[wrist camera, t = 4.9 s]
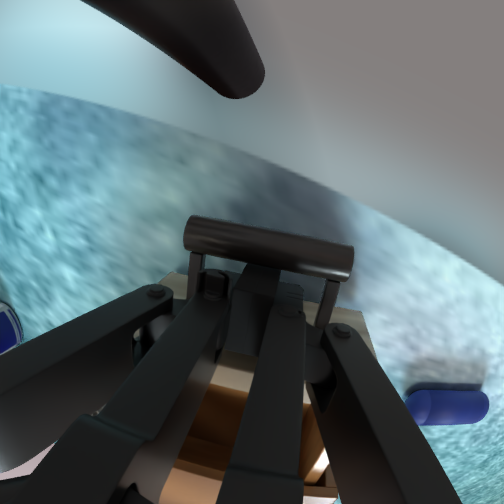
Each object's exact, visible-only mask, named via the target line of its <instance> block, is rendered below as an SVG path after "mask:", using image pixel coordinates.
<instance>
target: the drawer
mask: <svg viewBox="0 0 504 504" xmlns="http://www.w3.org/2000/svg"><path fill="white" fill-rule="evenodd" d="M183 244H184V248H185V249H186V250H188V251H192V252H191V253H190V260H189V271H188V276H187V275H183V274H179V273H175V272H170V273H169V274H168V275H167V276H166V277H165V278H163V279H162V280H161V281H160V282H159V283H157V284H162V285H164V286H167V287H169V288H171V289H172V290H173V292H174V295H173V298H175V299H191V297H192V296H193V295H194V294H195V293H196V284H197V274H198V272H199V271H200V270H204V267H205V258H206V254H207V255H211V256H216V257H221V258H226V259H230V260H235V261H240V262H245V263H250V264H255V265H260V266H264V267H269V268H274V269H279V270H284V271H289V272H294V273H299V274H304V275H309V276H314V277H319V278H324V279H326V280H325V284H324V288H323V291H322V295H321V299H320V303H314V302H309V301H304V300H303V312H304V313H305V315H306V321H307V322H308V323H309V324H311V325H312V326H314V327H316V328H319V329H322V330H324V327H325V326H326V324H329V323H336V322H337V323H344V324H347V325H350V326H351V327H352V328H354V329H355V330H356V331H357V332H358V333H359V334H360V336H361V337H362V339H363V340H364V342H365V343H366V345H367V346H368V348H369V349H370V351H371V352H372V354H373V355H374V357H375V358H376V360H377V357H376V354H375V351H374V348H373V345H372V342H371V338H370V335H369V332H368V329H367V326H366V323H365V321H364V318H363V315H362V312H361V311H356V310H351V309H345V308H340V307H335V306H334V305H335V301H336V298H337V294H338V291H339V287H340V282H347V280H348V279H349V276H350V274H351V271H352V267H353V261H354V247H353V246H352V245H348V244H343V243H339V242H334V241H329V240H324V239H319V238H314V237H310V236H305V235H300V234H295V233H290V232H285V231H280V230H275V229H269V228H264V227H259V226H254V225H249V224H243V223H238V222H233V221H227V220H222V219H217V218H211V217H206V216H200V215H191V216H190V217H189V219H188V221H187V223H186V226H185V230H184V236H183ZM138 336H139V329H138V330H137V331H136V332H135V334H134V338H136V337H138ZM224 348H225V343H224V345H223V350H222V356H221V359H220V361H219V363H218V366H217V368H216V370H215V373H214V375H213V377H212V379H211V382H210V384H209V386H208V389H207V391H206V393H205V395H204V398H203V400H202V402H201V405H200V407H199V409H198V411H197V414H196V416H195V418H194V420H193V423H192V425H191V427H190V429H189V432H188V434H187V436H186V438H185V441H184V443H183V445H182V447H181V450H180V452H179V454H178V456H177V458H178V459H181V460H184V461H188V462H191V463H194V464H198V465H201V466H205V467H208V468H212V469H216V470H220V471H224V472H225V471H226V468H227V465H228V464H229V461H230V457H231V454H232V451H233V447H234V444H235V440H236V437H237V433H238V430H239V426H240V423H241V419H242V416H243V412H244V409H245V405H246V401H247V398H248V394H249V390H250V387H251V383H252V379H253V375H254V372H255V368H256V364H257V360H258V357H255V356H250V355H246V354H242V353H237V352H233V351H229V350H225V349H224ZM328 464H329V460H328V457H327V454H326V450H325V447H324V444H323V441H322V438H321V434H320V431H319V428H318V425H317V422H316V418H315V415H314V412H313V409H312V406H311V402H310V399H309V396H308V393H307V390H306V381H305V380H304V396H303V415H302V430H301V444H300V457H299V469H298V475H299V477H300V478H303V481H304V485H305V486H314V485H315V484H316V482H317V481H318V479H319V478H320V476H321V475H322V473H323V472H324V470H325V469H326V467H327V466H328Z"/></svg>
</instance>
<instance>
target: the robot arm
mask: <svg viewBox="0 0 504 504" xmlns="http://www.w3.org/2000/svg"><path fill="white" fill-rule="evenodd" d="M280 273H281V270H279V269H274V268H269V267H264V266H260V265H255V264H250V263H247V265H246V267H245V268H244V270H243V272H242V274H239V273H235V272H230V271H221V270H216V269H204V270H200V271H199V272H198V274H197V284H196V293H195V294H194V295H193V296H192V297H191V299H175V298H173V295H174V292H173V290H172V289H171V288H169V287H167V286H164V285H162V284H150V285H146V286H143V287H140V288H138V289H136V290H134V291H132V292H130V293H128V294H126V295H123V296H121V297H119V298H117V299H115V300H113V301H111V302H109V303H107V304H104V305H102V306H100V307H98V308H96V309H94V310H92V311H90V312H88V313H86V314H83V315H81V316H79V317H77V318H75V319H73V320H71V321H69V322H67V323H65V324H63V325H61V326H59V327H56V328H54V329H52V330H50V331H48V332H46V333H44V334H42V335H40V336H38V337H36V338H34V339H32V340H30V341H28V342H26V343H24V344H22V345H20V346H18V347H16V348H14V349H12V350H9V351H7V352H5V353H3V354H1V355H0V473H3V472H6V471H9V470H11V469H14V468H16V467H18V466H20V465H22V464H24V463H25V462H27V461H29V460H30V459H32V458H33V457H35V456H36V455H38V454H39V453H40V452H42V451H43V450H45V449H46V448H47V447H49V446H50V445H51V444H53V443H54V442H56V441H57V440H58V439H59V440H58V441H57V442H56V443H55V445H54V446H53V447H52V448H51V450H50V451H49V452H48V453H47V455H46V456H45V457H44V458H43V459H42V461H41V462H40V463H39V464H38V466H37V467H36V468H35V470H34V471H33V472H32V473H31V474H30V475H25V476H21V477H15V478H10V479H5V480H0V504H159V499H160V495H161V492H162V490H163V487H164V485H165V483H166V481H167V478H168V476H169V474H170V472H171V470H172V467H173V465H174V463H175V461H176V459H177V456H178V454H179V452H180V450H181V447H182V445H183V443H184V441H185V438H186V436H187V434H188V432H189V429H190V427H191V425H192V423H193V420H194V418H195V416H196V414H197V411H198V409H199V407H200V405H201V402H202V400H203V398H204V395H205V393H206V391H207V389H208V386H209V384H210V382H211V379H212V377H213V375H214V373H215V370H216V368H217V366H218V363H219V361H220V359H221V356H222V350H223V345H224V343H225V348H224V349H225V350H229V351H233V352H237V353H242V354H246V355H250V356H255V357H258V360H257V364H256V368H255V372H254V375H253V379H252V383H251V387H250V390H249V394H248V398H247V401H246V405H245V409H244V412H243V416H242V419H241V423H240V426H239V430H238V433H237V437H236V440H235V444H234V447H233V451H232V454H231V457H230V461H229V464H228V465H227V468H226V471H225V474H224V477H223V481H222V484H221V487H220V490H219V494H218V497H217V500H216V503H215V504H303V496H304V481H303V478H300V477H299V475H298V469H299V457H300V444H301V430H302V415H303V396H304V380H305V381H306V390H307V393H308V396H309V399H310V402H311V406H312V409H313V412H314V415H315V418H316V422H317V425H318V428H319V431H320V434H321V438H322V441H323V444H324V447H325V450H326V454H327V457H328V460H329V463H330V467H331V470H332V473H333V477H334V480H335V483H336V486H337V490H338V493H339V496H340V500H341V503H342V504H462V502H461V500H460V498H459V497H458V495H457V493H456V491H455V489H454V487H453V486H452V484H451V482H450V480H449V478H448V477H447V475H446V473H445V471H444V470H443V468H442V466H441V464H440V463H439V461H438V459H437V457H436V456H435V454H434V452H433V450H432V449H431V447H430V445H429V444H428V442H427V440H426V439H425V437H424V435H423V434H422V432H421V430H420V429H419V427H418V425H417V424H416V422H415V420H414V419H413V417H412V415H411V414H410V412H409V410H408V409H407V407H406V406H405V404H404V402H403V401H402V399H401V398H400V396H399V394H398V393H397V391H396V390H395V388H394V386H393V385H392V383H391V382H390V380H389V378H388V377H387V375H386V374H385V372H384V371H383V369H382V368H381V366H380V364H379V363H378V361H377V360H376V358H375V357H374V355H373V354H372V352H371V351H370V349H369V348H368V346H367V345H366V343H365V342H364V340H363V339H362V337H361V336H360V334H359V333H358V332H357V331H356V330H355V329H354V328H352V327H351V326H350V325H347V324H344V323H337V322H336V323H329V324H326V326H325V327H324V330H322V329H319V328H316V327H314V326H312V325H311V324H309V323H308V322H307V321H306V315H305V313H304V312H303V297H304V296H303V295H304V290H303V289H302V288H301V287H300V285H296V284H291V283H286V282H281V281H279V278H280ZM138 329H139V336H138V337H136V338H134V334H135V332H136V331H137V330H138ZM105 404H106V405H105ZM104 405H105V406H104ZM103 406H104V408H103V409H102V410H101V411H100V413H99V414H98V415H96V416H91V415H92V414H93V413H95V412H96V411H97V410H99V409H100V408H101V407H103Z"/></svg>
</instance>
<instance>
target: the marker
mask: <svg viewBox="0 0 504 504" xmlns="http://www.w3.org/2000/svg"><path fill="white" fill-rule="evenodd" d="M405 406H406V407H407V409H408V410H409V412H410V414H411V415H412V417H413V419H414V420H415V422H416V424H417V425H418V426H426V425H459V424H473V423H477V422H479V421H480V420H482V419H483V418H484V417H485V415H486V414H487V412H488V409H489V399H488V397H487V395H486V394H485V393H483V392H481V391H449V390H418V391H415V392H414V393H412V394H411V395H410V396H409V397H408V398H407V400H406V401H405Z"/></svg>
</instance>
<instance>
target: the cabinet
mask: <svg viewBox="0 0 504 504" xmlns="http://www.w3.org/2000/svg"><path fill="white" fill-rule="evenodd" d="M224 474H225V472H224V471H220V470H216V469H212V468H208V467H205V466H201V465H198V464H194V463H191V462H188V461H184V460H181V459H178V458H177V459H176V461H175V463H174V465H173V467H172V470H171V472H170V474H169V476H168V478H167V481H166V483H165V485H164V487H163V490H162V492H161V495H160V499H159V504H215V503H216V500H217V497H218V494H219V490H220V487H221V484H222V481H223V477H224ZM337 499H338V490H337V486H336V483H335V480H334V477H333V473H332V470H331V467H330V463H329V464H328V466H327V467H326V469H325V470H324V472H323V473H322V475H321V476H320V478H319V479H318V481H317V482H316V484H315V485H314V486H305V485H304V496H303V504H333V503H334V502H335V501H336V500H337Z"/></svg>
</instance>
